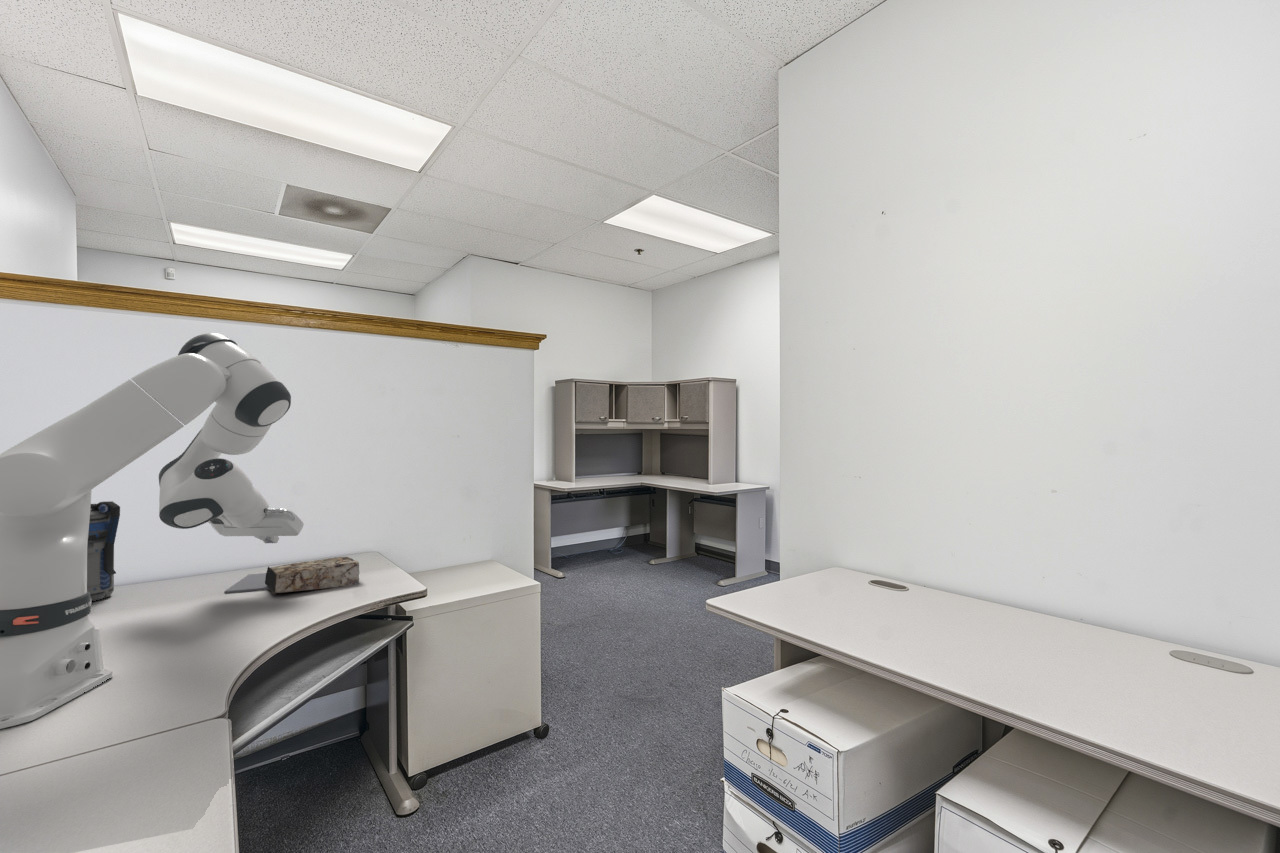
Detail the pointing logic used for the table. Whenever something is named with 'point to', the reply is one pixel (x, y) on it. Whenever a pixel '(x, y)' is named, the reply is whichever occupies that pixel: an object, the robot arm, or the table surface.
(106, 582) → the grey blue tall cylinder
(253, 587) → the mat
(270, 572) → the stone block
